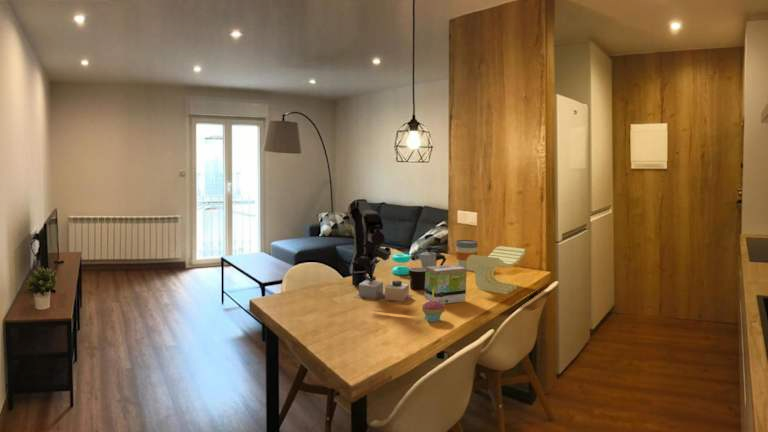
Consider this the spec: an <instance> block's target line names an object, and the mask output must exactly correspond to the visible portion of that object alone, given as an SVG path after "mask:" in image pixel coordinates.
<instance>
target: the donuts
mask: <svg viewBox="0 0 768 432" xmlns="http://www.w3.org/2000/svg"><path fill="white" fill-rule="evenodd" d="M391 259H392V261H393V262H395V263H398V264H405V263H409V262H410V261H411V259H412V257H411V255H409V254H404V253H396V254H393V255H392V256H391ZM409 268H410V267H408V266H404V265H400V266H399V265H398V266H395V267H393V268H392V269H391V272H392V274H393V275H395V276H396V275H397V276H407V275H408V276H409Z"/></svg>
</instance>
